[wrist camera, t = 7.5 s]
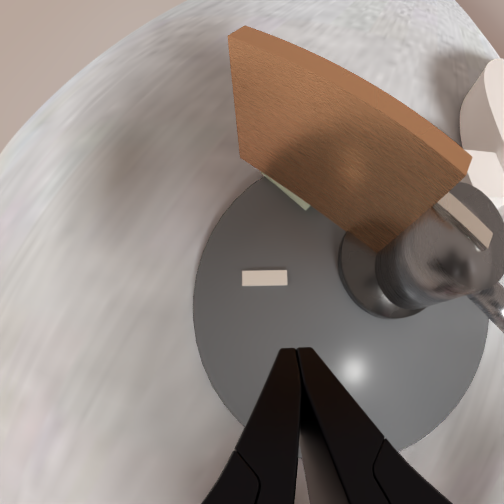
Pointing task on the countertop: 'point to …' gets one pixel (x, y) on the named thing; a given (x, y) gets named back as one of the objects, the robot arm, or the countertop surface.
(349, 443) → the robot arm
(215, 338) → the dial plate
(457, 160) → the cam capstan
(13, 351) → the countertop surface
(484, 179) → the ring with crossbar
